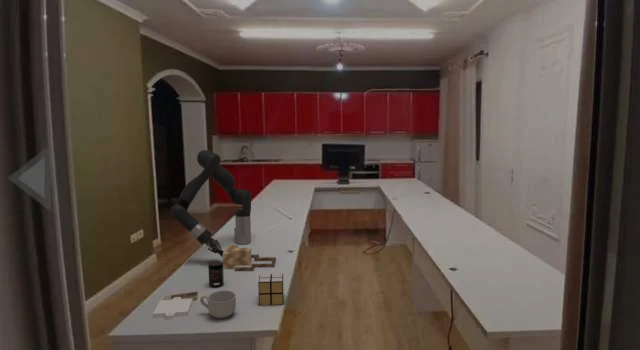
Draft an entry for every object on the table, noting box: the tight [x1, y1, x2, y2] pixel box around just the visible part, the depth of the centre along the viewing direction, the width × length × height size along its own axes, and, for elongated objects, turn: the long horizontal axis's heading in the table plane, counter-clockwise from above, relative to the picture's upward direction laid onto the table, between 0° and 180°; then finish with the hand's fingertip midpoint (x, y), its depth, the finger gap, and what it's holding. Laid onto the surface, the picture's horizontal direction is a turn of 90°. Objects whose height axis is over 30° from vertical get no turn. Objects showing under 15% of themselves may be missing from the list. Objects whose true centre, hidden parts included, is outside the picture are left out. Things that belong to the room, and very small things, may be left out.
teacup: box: [199, 289, 237, 319], centre depth 168 cm, size 14×11×8 cm
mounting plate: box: [152, 296, 194, 320], centre depth 173 cm, size 18×13×2 cm
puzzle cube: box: [257, 272, 285, 306], centre depth 181 cm, size 10×10×10 cm
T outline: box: [233, 254, 277, 272], centre depth 230 cm, size 20×23×2 cm
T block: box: [222, 244, 252, 270], centre depth 229 cm, size 13×16×8 cm
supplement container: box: [207, 260, 225, 288], centre depth 198 cm, size 7×7×10 cm
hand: (224, 256), depth 229 cm, fingers closed
